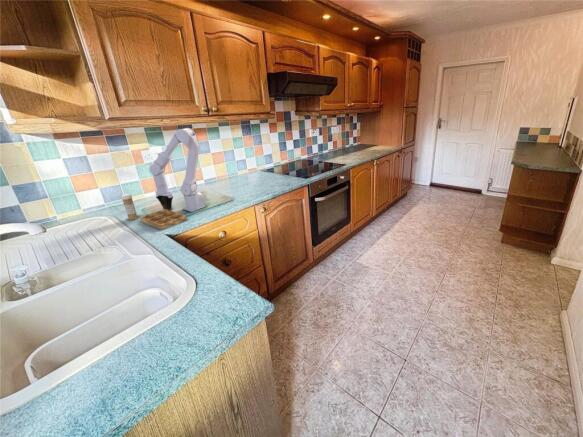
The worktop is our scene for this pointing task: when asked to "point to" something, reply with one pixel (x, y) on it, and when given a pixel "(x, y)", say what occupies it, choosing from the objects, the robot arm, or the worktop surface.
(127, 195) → the sprinkles bottle
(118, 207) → the worktop surface
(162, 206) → the token
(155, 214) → the grid
